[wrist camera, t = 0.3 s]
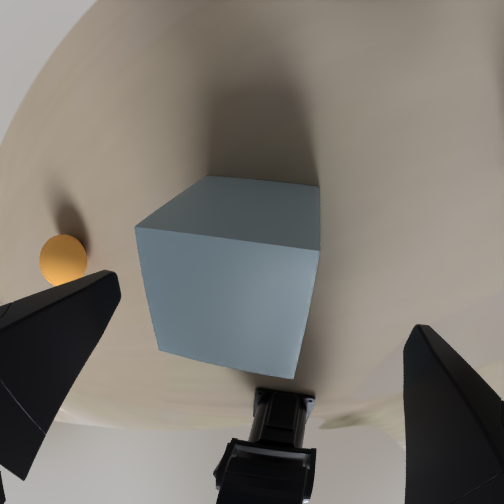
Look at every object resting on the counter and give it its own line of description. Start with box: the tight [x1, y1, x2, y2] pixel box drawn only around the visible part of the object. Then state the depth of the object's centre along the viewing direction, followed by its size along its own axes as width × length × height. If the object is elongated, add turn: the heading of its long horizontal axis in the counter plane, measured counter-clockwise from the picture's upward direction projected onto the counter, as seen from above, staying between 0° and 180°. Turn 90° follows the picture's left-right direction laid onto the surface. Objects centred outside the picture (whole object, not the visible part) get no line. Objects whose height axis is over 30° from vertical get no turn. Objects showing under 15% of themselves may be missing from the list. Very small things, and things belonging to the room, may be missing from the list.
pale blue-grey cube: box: [135, 176, 320, 379], centre depth 16 cm, size 8×8×9 cm
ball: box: [40, 234, 87, 286], centre depth 23 cm, size 5×5×5 cm
